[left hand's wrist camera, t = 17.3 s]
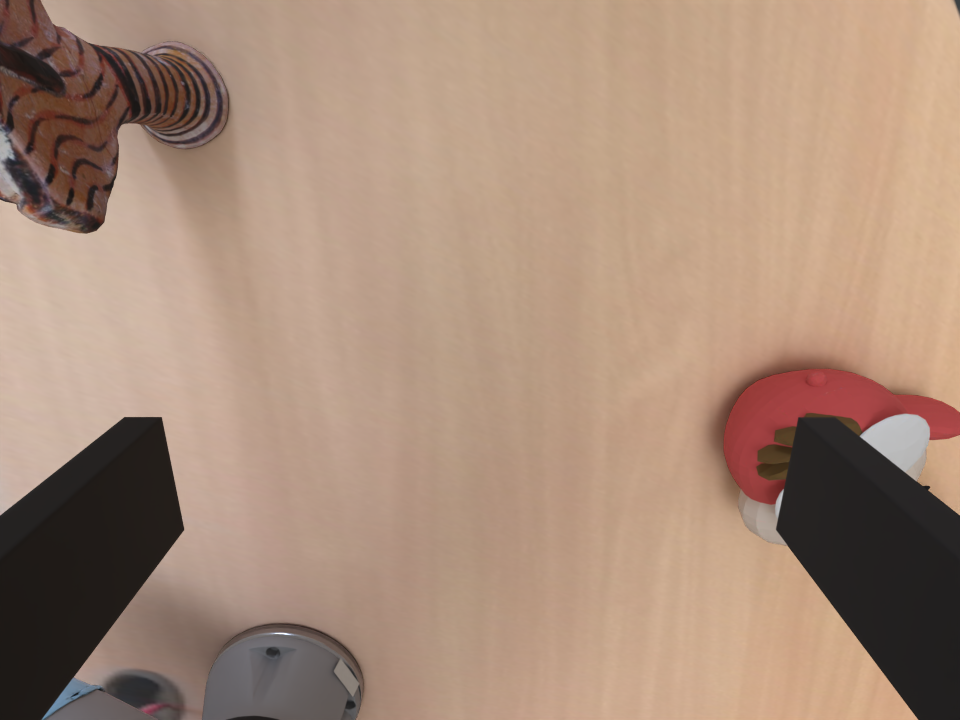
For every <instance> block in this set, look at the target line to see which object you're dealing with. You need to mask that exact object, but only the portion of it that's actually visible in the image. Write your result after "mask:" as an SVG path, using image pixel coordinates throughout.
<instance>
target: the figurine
mask: <svg viewBox="0 0 960 720" xmlns="http://www.w3.org/2000/svg"><path fill="white" fill-rule="evenodd" d="M227 114H228V95H227V90H226V88H225V85H224V83H223V80H222V78H221V76H220V74H219V73H218V72H217V71H216V69H215V68H214V66H213V65H212V63H211V62H210V61H209V60H208V59H207V58H206V57H204V56H203V55H202V54H201V53H200V52H198V51H196V50H195V49H194V48H192V47H190V46H187V45H185V44H182V43H180V42H163V43H160V44H157V45H155V46H152V47H149V48H147V49H145V50H144V51H143V52H142V53H139V52H135V51H132V50H126V49H121V48H115V47H107V46H99V45H94V44H90V43H87V42H86V41H84V40H82V39H81V38H79V37H77V36H75V35H74V34H72V33H71V32H69V31H68V30H66V29H65V28H63V27H57V26H55V25H54V24H52V22H51V20H50V18H49V16H48V14H47V12H46V10H45V9H44V7H43V5H42V3H41V0H0V200H3V201H5V202H10V203H15V204H17V209H18V210H19V211H20V212H21V213H22V214H23V215H24V216H26V217H27V218H29V219H30V220H32V221H34V222H36V223H39V224H42V225H45V226H48V227H54V228H59V229H64V230H68V231H72V232H76V233H90V232H94V231H97V229H98V228H99V227H100V226H101V225H102V224H103V223H104V221H105V215H106V209H107V202H108V199H109V196H110V194H111V190H112V188H113V185H114V180H115V178H116V175H117V169H118V155H119V145H118V139H117V135H118V130H119V128H120V126H121V125H122V124H126V123H137V124H141V126H142V127H143V128H144V129H145V130H146V131H147V132H148V133H149V134H150V135H151V136H152V137H153V138H155V139H156V140H157V141H159V142H161V143H163V144H166V145H169V146H172V147H175V148H181V149H188V148H194V147H197V146H201V145H203V144H205V143H206V142H208V141H210V140H212V139H213V138H214V137H215V136H216V135H217V134H219V133H220V132H221V130H222V129H223V127H224V125H225V123H226V119H227Z"/></svg>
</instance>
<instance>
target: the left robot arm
mask: <svg viewBox="0 0 960 720" xmlns="http://www.w3.org/2000/svg"><path fill="white" fill-rule="evenodd" d="M183 531H184V526H183V521H182V516H181V511H180V506H179V501H178V496H177V491H176V486H175V481H174V476H173V471H172V466H171V461H170V456H169V451H168V446H167V441H166V436H165V431H164V426H163V421H162V417H124V418H123V419H122V420H120V421H119V422H118V423H117V424H115V425H114V426H113V427H112V428H110V429H109V430H108V431H106V432H105V433H104V434H103V435H101V436H100V437H99V438H98V439H96V440H95V441H94V442H93V443H91V444H90V445H89V446H88V447H86V448H85V449H84V450H83V451H81V452H80V453H79V454H77V455H76V456H75V457H74V458H72V459H71V460H70V461H69V462H67V463H66V464H65V465H64V466H62V467H61V468H60V469H59V470H57V471H56V472H55V473H53V474H52V475H51V476H50V477H48V478H47V479H46V480H45V481H43V482H42V483H41V484H40V485H38V486H37V487H36V488H35V489H33V490H32V491H31V492H29V493H28V494H27V495H26V496H24V497H23V498H22V499H21V500H19V501H18V502H17V503H16V504H14V505H13V506H12V507H11V508H9V509H8V510H7V511H5V512H4V513H3V514H2V515H0V720H158V719H156V718H154V717H152V716H150V715H148V714H146V713H144V712H142V711H141V710H139V709H137V708H135V707H133V706H131V705H129V704H127V703H125V702H123V701H121V700H119V699H117V698H115V697H113V696H111V695H109V694H107V693H105V688H103V687H102V686H99V685H89V684H87V683H85V682H83V681H80V680H78V679H76V678H74V676H75V675H76V673H77V672H78V671H79V669H80V668H81V667H82V665H83V664H84V663H85V661H86V660H87V659H88V657H89V656H90V655H91V653H92V652H93V651H94V649H95V648H96V647H97V645H98V644H99V643H100V641H101V640H102V639H103V637H104V636H105V635H106V633H107V632H108V631H109V629H110V628H111V627H112V625H113V624H114V623H115V621H116V620H117V619H118V617H119V616H120V615H121V613H122V612H123V611H124V609H125V608H126V607H127V605H128V604H129V603H130V601H131V600H132V599H133V597H134V596H135V595H136V593H137V592H138V591H139V589H140V588H141V587H142V585H143V584H144V583H145V581H146V580H147V579H148V577H149V576H150V575H151V573H152V572H153V571H154V569H155V568H156V567H157V565H158V564H159V563H160V561H161V560H162V559H163V557H164V556H165V555H166V553H167V552H168V551H169V549H170V548H171V547H172V545H173V544H174V543H175V541H176V540H177V539H178V537H179V536H180V535H181V533H182V532H183ZM776 531H777V532H778V533H779V535H780V536H781V537H782V539H783V540H784V541H785V543H786V544H787V545H788V547H789V548H790V549H791V551H792V552H793V553H794V555H795V556H796V557H797V559H798V560H799V561H800V563H801V564H802V565H803V567H804V568H805V569H806V571H807V572H808V573H809V575H810V576H811V577H812V579H813V580H814V581H815V583H816V584H817V585H818V587H819V588H820V589H821V591H822V592H823V593H824V595H825V596H826V597H827V599H828V600H829V601H830V603H831V604H832V605H833V607H834V608H835V609H836V611H837V612H838V613H839V615H840V616H841V617H842V619H843V620H844V621H845V623H846V624H847V625H848V627H849V628H850V629H851V631H852V632H853V633H854V635H855V636H856V637H857V639H858V640H859V641H860V643H861V644H862V645H863V647H864V648H865V649H866V651H867V652H868V653H869V655H870V656H871V657H872V659H873V660H874V661H875V663H876V664H877V665H878V667H879V668H880V669H881V671H882V672H883V673H884V675H885V676H886V677H887V679H888V680H889V681H890V683H891V684H892V685H893V687H894V688H895V689H896V691H897V692H898V693H899V695H900V696H901V697H902V699H903V700H904V701H905V703H906V704H907V705H908V707H909V708H910V709H911V711H912V712H913V713H914V715H915V716H916V717H917V719H918V720H960V515H958V514H957V513H956V512H955V511H953V510H952V509H951V508H949V507H948V506H947V505H946V504H944V503H943V502H942V501H941V500H939V499H938V498H937V497H936V496H934V495H933V494H932V493H931V492H929V491H928V490H927V489H925V488H924V487H923V486H922V485H920V484H919V483H918V482H917V481H915V480H914V479H913V478H912V477H910V476H909V475H908V474H907V473H905V472H904V471H903V470H901V469H900V468H899V467H898V466H896V465H895V464H894V463H893V462H891V461H890V460H889V459H888V458H886V457H885V456H884V455H883V454H881V453H880V452H879V451H877V450H876V449H875V448H874V447H872V446H871V445H870V444H869V443H867V442H866V441H865V440H864V439H862V438H861V437H860V436H859V435H857V434H856V433H855V432H854V431H852V430H851V429H850V428H848V427H847V426H846V425H845V424H843V423H842V422H841V421H840V420H838V419H837V418H836V417H798V421H797V426H796V431H795V436H794V441H793V446H792V451H791V456H790V461H789V466H788V471H787V476H786V481H785V486H784V491H783V496H782V501H781V506H780V511H779V516H778V521H777V526H776ZM362 696H363V678H362V674H361V671H360V669H359V666H358V665H357V663H356V661H355V660H354V658H353V657H352V656H351V654H350V653H349V652H348V651H347V650H346V649H345V648H344V647H343V646H341V645H340V644H339V643H338V642H336V641H335V640H333V639H332V638H330V637H328V636H326V635H324V634H322V633H320V632H317V631H315V630H312V629H308V628H305V627H300V626H295V625H283V624H277V625H266V626H260V627H256V628H253V629H250V630H247V631H245V632H243V633H241V634H239V635H237V636H236V637H234V638H233V639H231V640H230V641H229V642H228V643H227V644H226V645H225V646H224V647H223V648H222V650H221V651H220V653H219V654H218V656H217V658H216V660H215V662H214V664H213V666H212V668H211V670H210V673H209V676H208V680H207V684H206V690H205V699H204V707H203V716H202V720H356V718H357V716H358V713H359V710H360V705H361V701H362Z"/></svg>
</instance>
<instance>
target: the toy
mask: <svg viewBox="0 0 960 720" xmlns="http://www.w3.org/2000/svg"><path fill="white" fill-rule="evenodd" d="M798 417H836V418H837V419H838V420H840V421H841V422H842V423H843V424H845V425H846V426H847V427H848V428H850V429H851V430H852V431H854V432H855V433H856V434H857V435H859V436H860V437H861V438H862V439H864V440H865V441H866V442H867V443H869V444H870V445H871V446H872V447H874V448H875V449H876V450H877V451H879V452H880V453H881V454H883V455H884V456H885V457H886V458H888V459H889V460H890V461H891V462H893V463H894V464H895V465H896V466H898V467H899V468H900V469H901V470H903V471H904V472H905V473H907V474H908V475H909V476H910V477H912V478H913V479H914V480H915V481H917V480H918V478H919V476H920V474H921V472H922V470H923V468H924V466H925V462H926V447H927V446H928V442H929V440H939V439H949V438H952V437H955V436H958V435H960V412H958V411H957V410H956V409H955V408H953V407H951V406H949V405H947V404H946V403H944V402H941V401H938V400H935V399H932V398H928V397H923V396H918V395H894V394H892V393H891V392H890V391H889V390H887V389H886V388H885V387H883V386H882V385H880V384H878V383H876V382H875V381H873V380H871V379H868V378H866V377H863V376H860V375H857V374H854V373H852V372H846V371H840V370H833V369H806V370H799V371H790V372H786V373H781V374H775V375H772V376H769V377H766V378H763V379H761V380H758V381H757V382H755V383H754V384H752V385H751V386H749V387H748V388H746V390H745V391H744V392H743V393H742V394H741V395H740V397H739V398H738V400H737V401H736V403H735V405H734V407H733V408H732V411H731V413H730V415H729V418H728V421H727V424H726V428H725V433H724V454H725V458H726V462H727V465H728V468H729V470H730V472H731V474H732V477H733V478H734V480H735V481H736V483H737V484H738V485H739V487H740V493H739V498H738V508H739V511H740V513H741V516H742V518H743V521H744V523H745V526H746V527H747V528H748V529H749V530H750V531H751V532H753V533H754V534H756V535H757V536H759V537H761V538H762V539H764V540H766V541H767V542H770V543H774V544H780V545H787V544H786V543H785V541H784V540H783V539H782V537H781V536H780V535H779V533H778V532H777V531H776V526H777V521H778V516H779V511H780V506H781V501H782V496H783V491H784V486H785V481H786V476H787V471H788V466H789V461H790V456H791V451H792V446H793V441H794V436H795V431H796V426H797V421H798ZM923 487H924V488H925V489H927V490H928V489H929V488H930V486H923ZM787 546H788V545H787Z"/></svg>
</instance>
